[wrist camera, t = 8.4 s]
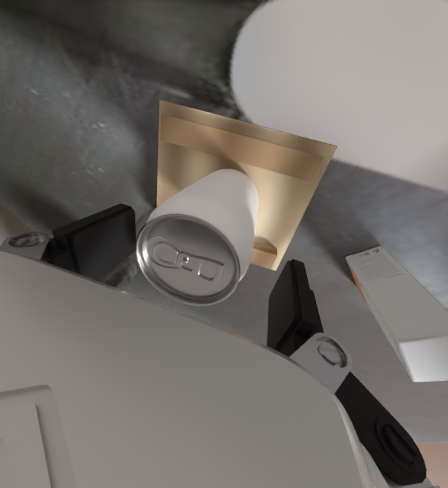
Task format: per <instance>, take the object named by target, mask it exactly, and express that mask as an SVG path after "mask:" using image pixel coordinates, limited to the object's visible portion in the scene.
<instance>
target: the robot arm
mask: <svg viewBox="0 0 448 488" xmlns="http://www.w3.org/2000/svg"><path fill="white" fill-rule="evenodd" d="M52 232H53V235H54V238H52V239H50V237H49V235H48V234H46V233H42V232H25V233H19V234H16V235H13V236H11V237H9V238H7V239H6V240H4V241H3V243H2V244H1V245H0V488H440V487H439V486H433V485H432V484H431V482H430V481H429V479H428V478H427V477H426V467H425V463H424V459H423V457H422V455H421V453H420V451H419V448H418V447H417V445H416V444H415V442H414V441H413V439H412V437H411V436H410V435H409V434H408V433H407V431H406V430H405V429H404V428H403V427H402V426H401V425H400V424H399V423H398V421H397V420H396V419H395V418H394V417H393V416H392V415H391V414H390V413H389V412H388V411H387V410H386V409H385V408H384V407H383V406H382V405H381V403H380V402H379V401H378V400H377V399H376V398H375V397H374V396H373V395H372V394H371V393H370V392H369V391H368V390H367V389H366V388H365V386H364V385H363V384H362V383H361V382H360V381H359V380H358V379H357V378H356V377H355V376H354V375H353V374H352V373H351V372H350V370H351V367H352V361H351V358H350V355H349V353H348V352H347V350H346V349H345V347H344V346H343V345H342V344H341V343H340V342H339V341H338V340H336V339H335V338H334V337H332V336H330V335H328V334H325V333H324V332H323V328H322V324H321V320H320V316H319V312H318V308H317V304H316V300H315V296H314V293H313V291H312V290H310V287H309V283H308V279H307V274H306V270H305V266H304V263H303V262H300V261H297V260H294V259H293V260H291V261H287V263H286V265H285V267H284V269H283V271H282V273H281V274H280V276H279V278H278V280H277V282H276V284H275V286H274V288H273V290H272V292H271V294H270V297H269V311H268V335H267V346H265V345H263V344H261V343H259V342H256V341H254V340H251V339H249V338H246V337H244V336H241V335H239V334H236V333H234V332H231V331H229V330H226V329H224V328H221V327H218V326H216V325H213V324H211V323H208V322H205V321H203V320H200V319H197V318H195V317H192V316H190V315H187V314H184V313H182V312H179V311H176V310H174V309H171V308H169V307H166V306H163V305H161V304H158V303H155V302H153V301H150V300H147V299H145V298H142V297H139V296H136V295H134V294H131V293H128V292H126V291H123V290H120V289H118V288H115V287H112V286H110V285H107V284H104V283H101V282H99V281H97V280H99V279H100V278H101V277H103V276H104V275H105V274H106V273H108V272H109V271H110V270H112V269H113V268H114V267H115V266H117V265H118V264H119V263H121V262H122V261H123V260H124V259H126V258H127V257H128V256H130V255H131V254H132V253H133V252H134V251H135V245H136V230H135V211H134V210H133V208H132V207H131V206H128V205H125V204H118V205H116V206H113V207H111V208H108V209H106V210H103V211H101V212H98V213H96V214H93V215H91V216H88V217H86V218H83V219H81V220H78V221H76V222H73V223H70V224H68V225H65V226H63V227H60V228H58V229H55V230H53V231H52Z"/></svg>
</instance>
